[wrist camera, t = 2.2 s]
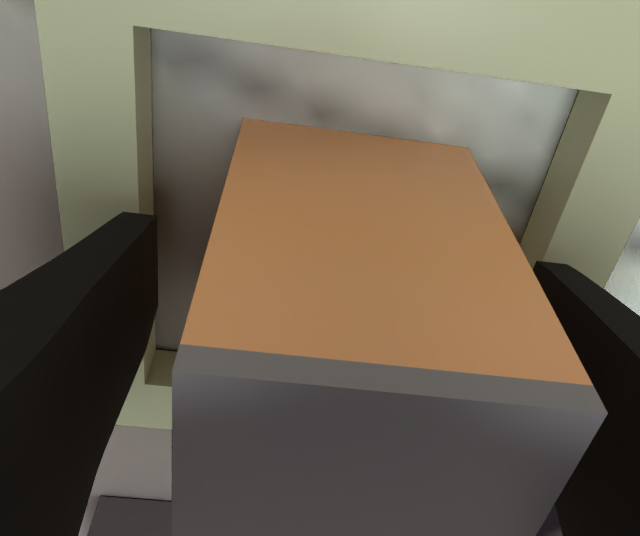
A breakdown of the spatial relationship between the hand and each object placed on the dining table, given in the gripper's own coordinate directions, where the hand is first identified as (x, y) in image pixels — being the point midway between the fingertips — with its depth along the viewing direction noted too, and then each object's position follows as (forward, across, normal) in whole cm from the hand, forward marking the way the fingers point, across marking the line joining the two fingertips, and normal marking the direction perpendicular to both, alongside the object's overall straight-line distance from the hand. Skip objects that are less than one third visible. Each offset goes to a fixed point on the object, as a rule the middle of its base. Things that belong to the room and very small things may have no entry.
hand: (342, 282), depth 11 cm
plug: (+2, 0, 0) cm, 2 cm away
